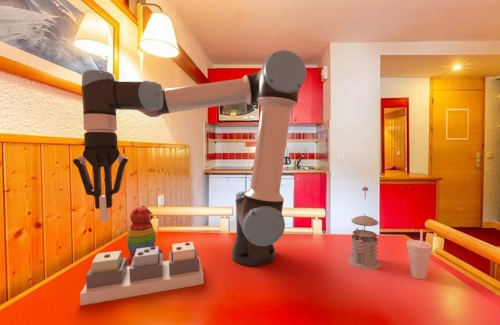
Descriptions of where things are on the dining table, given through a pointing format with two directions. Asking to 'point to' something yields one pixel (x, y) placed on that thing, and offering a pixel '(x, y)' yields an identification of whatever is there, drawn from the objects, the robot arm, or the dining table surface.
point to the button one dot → (107, 261)
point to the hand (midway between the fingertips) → (104, 219)
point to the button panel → (141, 279)
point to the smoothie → (419, 257)
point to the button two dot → (183, 251)
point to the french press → (364, 243)
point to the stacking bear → (140, 231)
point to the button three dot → (146, 256)
